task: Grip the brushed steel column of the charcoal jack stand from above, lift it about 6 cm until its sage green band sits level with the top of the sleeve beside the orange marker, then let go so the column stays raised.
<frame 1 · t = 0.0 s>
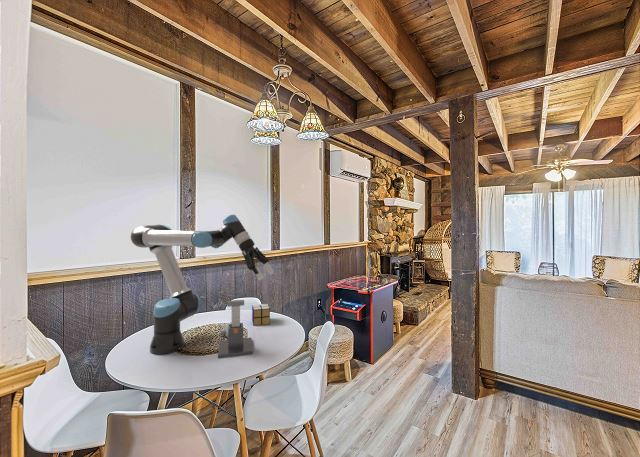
hand: (267, 276, 145), 36 cm above the table, tool tilted 35°, fingers open, 13 cm apart
jack stand base: (235, 348, 144), on the table
bunny figurine: (228, 334, 162), on the table
puzzle cube: (260, 322, 179), on the table
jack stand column: (235, 322, 143), point 13 cm above the table, slide at 0.0 cm
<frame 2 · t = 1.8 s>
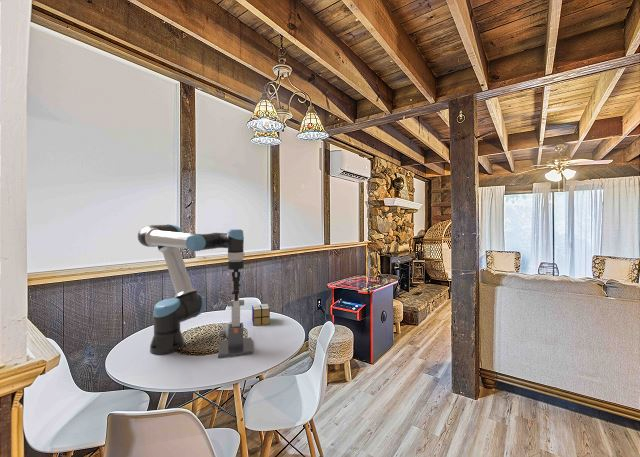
hand: (236, 303, 143), 23 cm above the table, tool pointing down, fingers open, 13 cm apart
nothing on the table moved.
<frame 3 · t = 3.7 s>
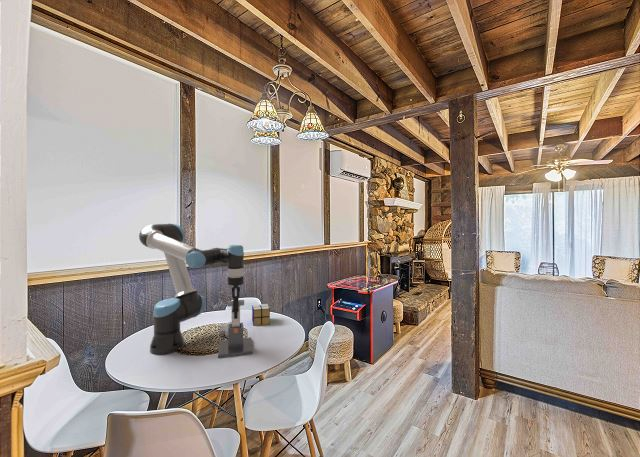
hand: (235, 322, 143), 13 cm above the table, tool pointing down, fingers closed on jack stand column, 4 cm apart
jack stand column: (235, 322, 143), point 13 cm above the table, slide at 0.0 cm, touching gripper
everything else where it was.
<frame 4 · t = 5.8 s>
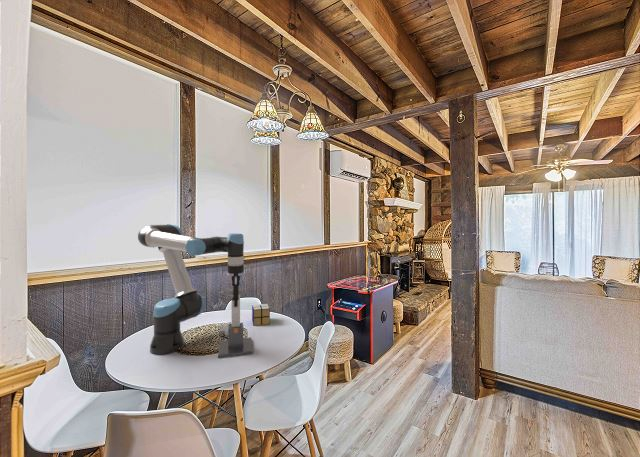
hand: (235, 311, 143), 19 cm above the table, tool pointing down, fingers closed on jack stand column, 4 cm apart
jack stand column: (235, 311, 143), point 19 cm above the table, slide at 5.8 cm, touching gripper
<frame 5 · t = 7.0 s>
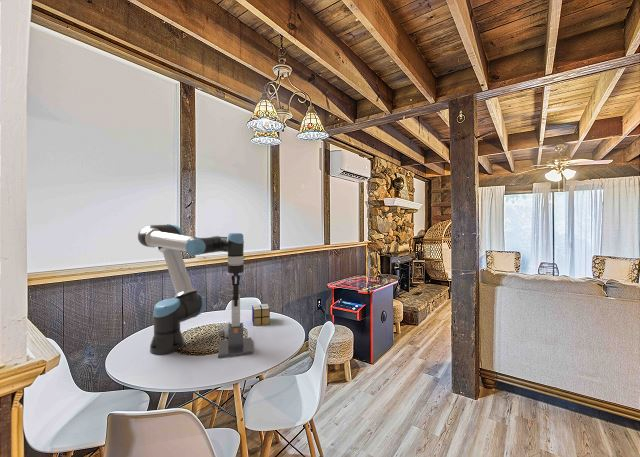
hand: (235, 310, 143), 19 cm above the table, tool pointing down, fingers closed on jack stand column, 4 cm apart
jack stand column: (235, 311, 143), point 19 cm above the table, slide at 6.0 cm, touching gripper
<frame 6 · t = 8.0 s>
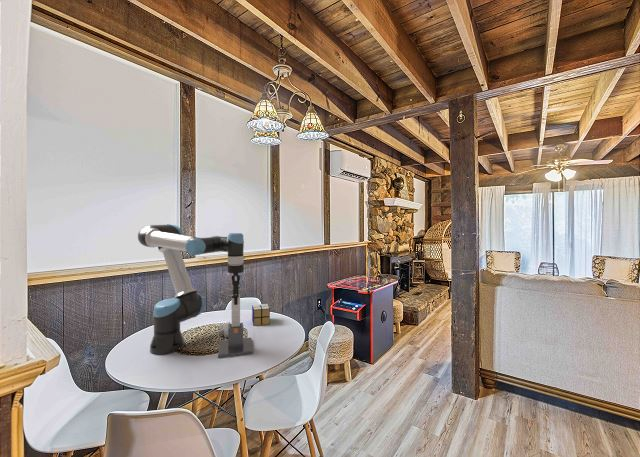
hand: (235, 306, 143), 21 cm above the table, tool pointing down, fingers open, 13 cm apart
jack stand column: (235, 311, 143), point 19 cm above the table, slide at 6.0 cm
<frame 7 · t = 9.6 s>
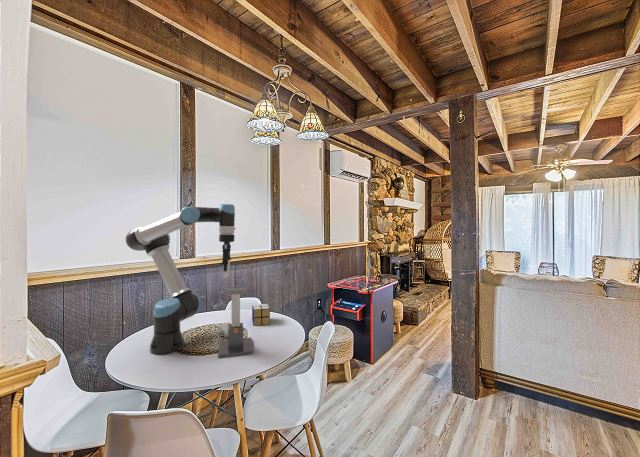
hand: (226, 274, 150), 36 cm above the table, tool pointing down, fingers open, 13 cm apart
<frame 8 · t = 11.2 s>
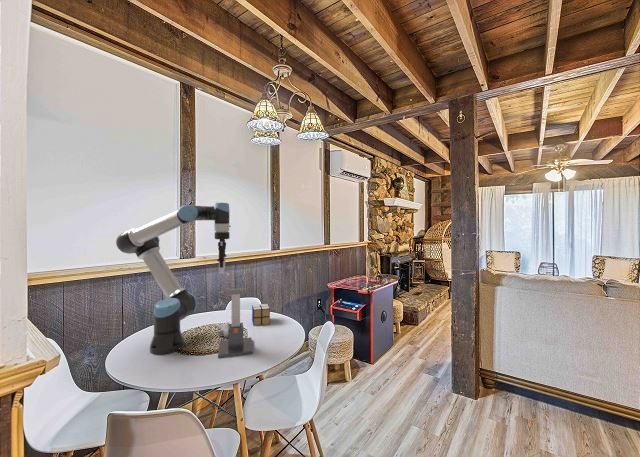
hand: (222, 271, 154), 37 cm above the table, tool pointing down, fingers open, 13 cm apart
at the end: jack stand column slide at 6.0 cm; the gripper is holding nothing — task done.
